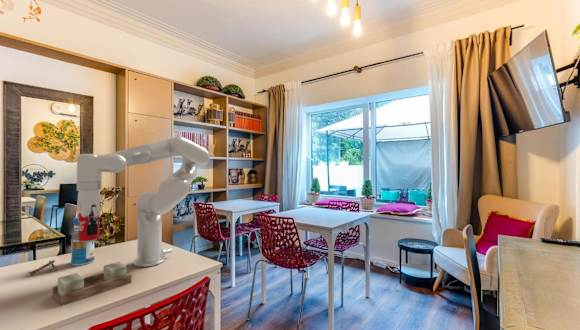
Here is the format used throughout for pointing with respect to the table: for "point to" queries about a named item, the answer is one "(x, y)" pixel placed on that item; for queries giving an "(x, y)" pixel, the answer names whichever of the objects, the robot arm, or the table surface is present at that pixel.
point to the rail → (90, 283)
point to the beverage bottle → (80, 248)
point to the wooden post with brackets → (44, 267)
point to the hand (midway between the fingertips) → (89, 232)
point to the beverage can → (83, 230)
